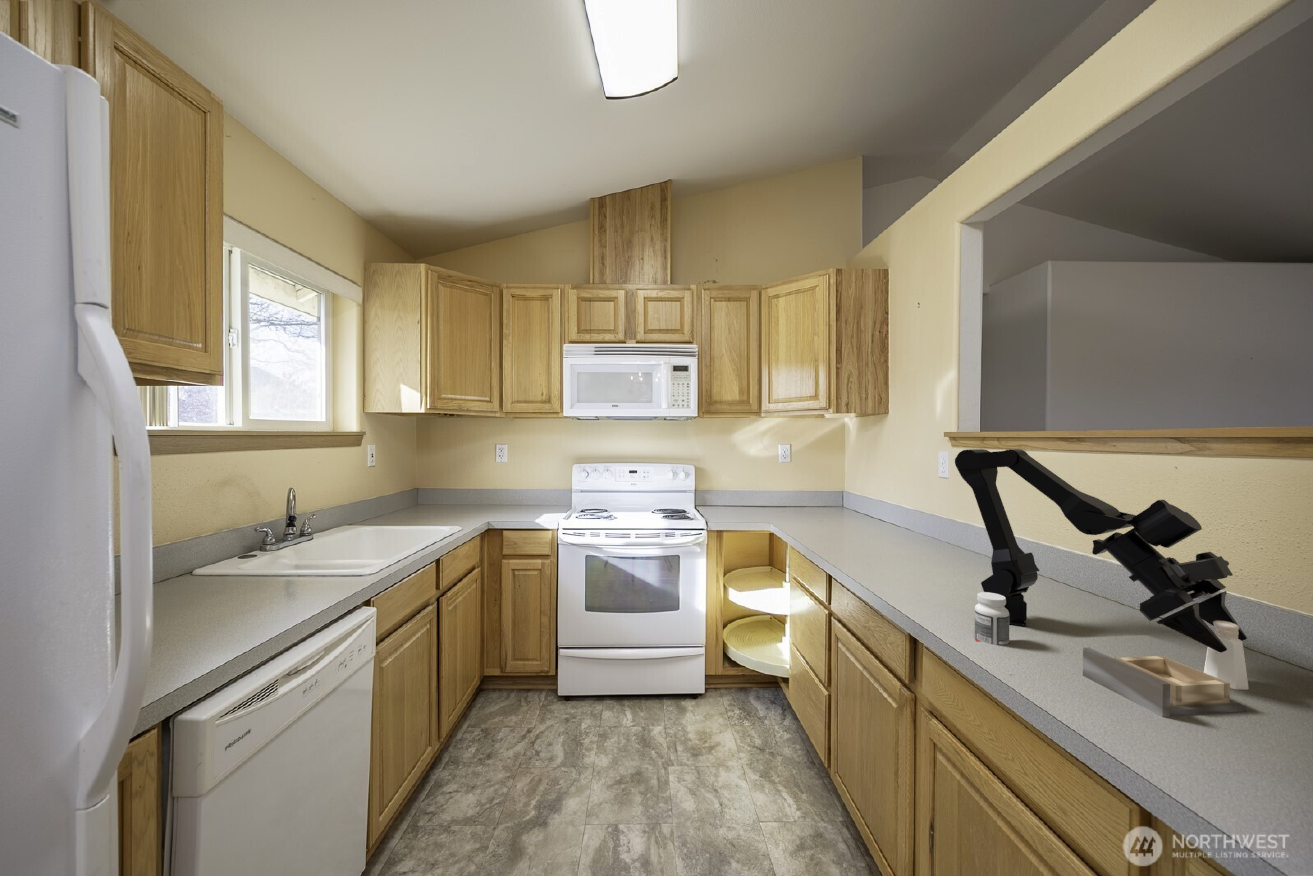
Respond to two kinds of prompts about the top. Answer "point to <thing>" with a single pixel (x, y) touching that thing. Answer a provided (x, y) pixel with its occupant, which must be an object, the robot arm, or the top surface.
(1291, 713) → the top surface
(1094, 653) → the open wooden tray
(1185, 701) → the light wooden tray
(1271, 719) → the top surface
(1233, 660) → the pepper shaker
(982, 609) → the pill bottle
